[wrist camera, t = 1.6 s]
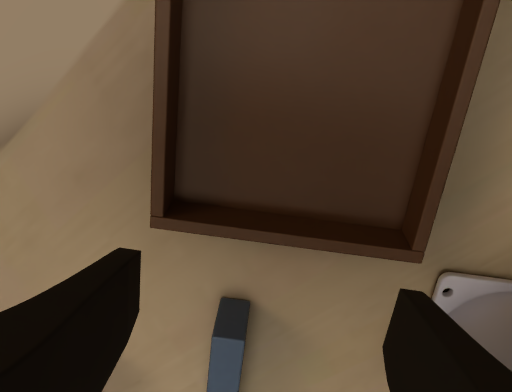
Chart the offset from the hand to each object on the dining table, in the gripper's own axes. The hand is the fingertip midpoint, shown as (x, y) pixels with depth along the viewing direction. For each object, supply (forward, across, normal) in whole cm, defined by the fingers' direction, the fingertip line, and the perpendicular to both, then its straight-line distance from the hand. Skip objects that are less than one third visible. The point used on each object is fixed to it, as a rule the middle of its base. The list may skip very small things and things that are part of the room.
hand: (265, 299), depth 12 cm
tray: (+10, -1, -6) cm, 12 cm away
